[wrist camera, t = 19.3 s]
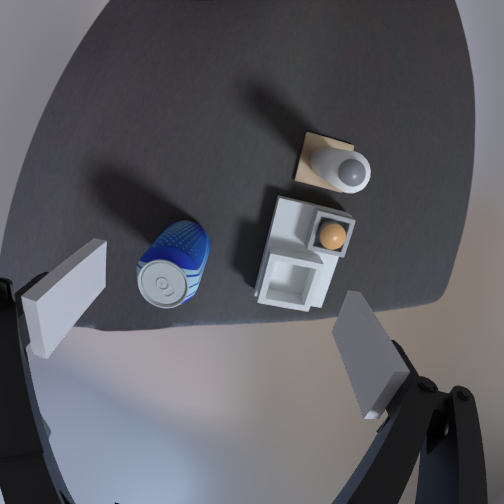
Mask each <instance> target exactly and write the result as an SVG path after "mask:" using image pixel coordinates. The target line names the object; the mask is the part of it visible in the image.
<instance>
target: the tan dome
mask: <svg viewBox="0 0 504 504" xmlns="http://www.w3.org/2000/svg"><path fill="white" fill-rule="evenodd" d="M316 234H317V237H318V239H319V240H320V242H321V243H322V245H323V246H324V247H325V248H327V249H330V250H334V249H338V248H339V247H341V246H342V245H343V244H344V242H345V239H346V232H345V230H344V228H343V227H342V226H341V225H340V224H339V223H338V222H337V221H335V220H333V219H325V220H323V221H321V222H320V223H319V226H318V230H317V233H316Z"/></svg>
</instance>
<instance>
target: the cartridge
mask: <svg viewBox="0 0 504 504" xmlns="http://www.w3.org/2000/svg"><path fill="white" fill-rule="evenodd" d="M310 166H311V169H312V170H313V172H314V173H315V174H316V175H318V176H319V177H321V178H322V179H324V180H325V181H327V182H329V183H330V184H332V185H333V186H335V187H336V188H338V189H339V190H341V191H343V192H346V193H355V192H358V191H360V190H362V189H363V188H364V187H365V186H366V185H367V183H368V181H369V179H370V166H369V163H368V161H367V160H366V158H365V157H364V156H363V155H361V154H360V153H357V152H354V151H349V150H343V149H337V148H331V147H320V148H318V149H316V150H315V151H314V152H313V154H312V155H311V158H310Z"/></svg>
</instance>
